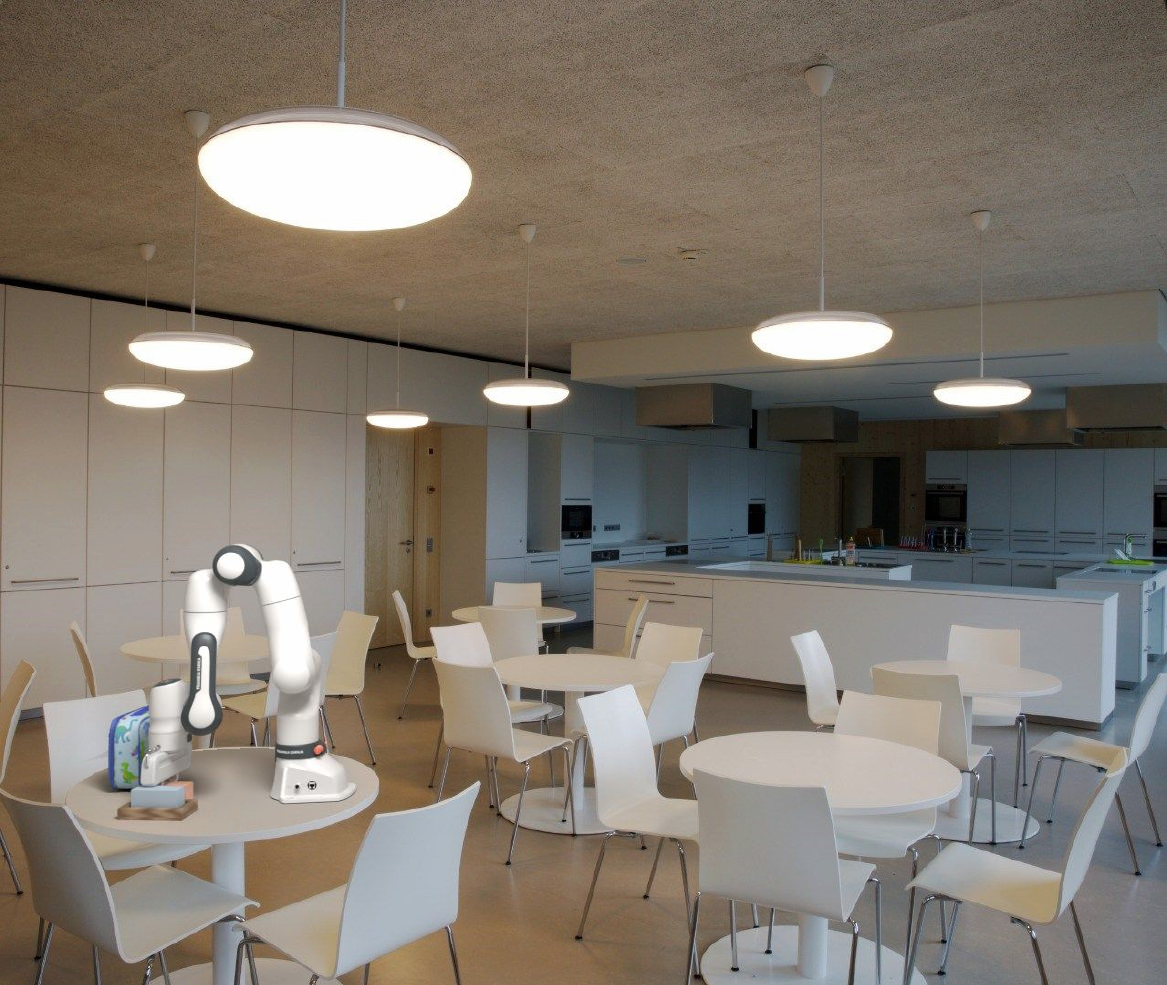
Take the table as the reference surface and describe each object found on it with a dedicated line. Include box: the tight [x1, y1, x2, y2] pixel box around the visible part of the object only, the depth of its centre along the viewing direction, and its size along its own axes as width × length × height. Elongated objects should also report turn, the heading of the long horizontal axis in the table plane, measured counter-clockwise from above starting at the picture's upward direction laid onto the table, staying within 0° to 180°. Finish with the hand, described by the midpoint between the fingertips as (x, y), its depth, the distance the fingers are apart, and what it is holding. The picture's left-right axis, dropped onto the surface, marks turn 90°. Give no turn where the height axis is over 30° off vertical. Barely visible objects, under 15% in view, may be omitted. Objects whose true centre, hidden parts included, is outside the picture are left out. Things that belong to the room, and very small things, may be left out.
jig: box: [116, 798, 199, 821], centre depth 235 cm, size 16×8×3 cm, turn 87°
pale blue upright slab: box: [130, 785, 185, 808], centre depth 236 cm, size 12×4×6 cm, turn 85°
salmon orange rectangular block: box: [163, 780, 194, 799], centre depth 246 cm, size 12×4×5 cm, turn 87°
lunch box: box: [107, 704, 150, 790], centre depth 266 cm, size 26×11×21 cm, turn 3°
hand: (166, 793), depth 246 cm, fingers closed on salmon orange rectangular block, 4 cm apart
